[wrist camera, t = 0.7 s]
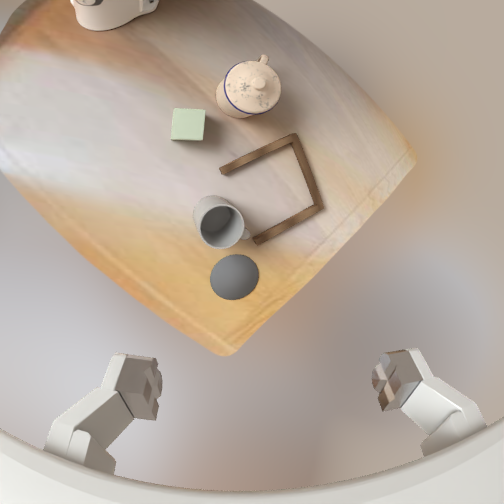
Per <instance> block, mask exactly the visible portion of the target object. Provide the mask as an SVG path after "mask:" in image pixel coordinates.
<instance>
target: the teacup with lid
mask: <svg viewBox="0 0 504 504" xmlns="http://www.w3.org/2000/svg"><path fill="white" fill-rule="evenodd" d="M268 60H269V57H268V56H266V55H261V56H260V57H259V58H258V59H257V61H244V62H241V63H238V64H236V65H235V66H233V67H232V68H231V69H230V70H229V72H228V73H227V75H226V77H225V78H224V79H223V80H222V81H221V82H220V84H219V85H218V87H217V90H216V101H217V104H218V106H219V107H220V109H221V110H222V111H223V112H224V113H226V114H227V115H229V116H231V117H235V118H246V117H249V116H252V115H256V114H262V113H265V112H267V111H269V110H271V109H272V108H273V107H274V106H275V105H276V104H277V102H278V100H279V98H280V95H281V83H280V80H279V77H278V76H277V74H276V73H275V71H274V70H273V69H272V68H270V67H269V66H268V65H267V63H268Z"/></svg>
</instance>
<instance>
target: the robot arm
mask: <svg viewBox="0 0 504 504" xmlns="http://www.w3.org/2000/svg"><path fill="white" fill-rule="evenodd" d="M70 1H71V4H72V5H73V6H74V7H75V11H76V18H77V20H78V22H79V23H80V24H81V25H82V26H83V27H85V28H87V29H90V30H95V31H103V30H109V29H113V28H116V27H119V26H121V25H123V24H125V23H127V22H129V21H131V20H132V19H134V18H135V17H137V16H139V15H143V14H147V13H150V12H153V11H154V10H155V9H156V8H157V5H158V2H159V0H70ZM151 1H153V3H150V2H151ZM379 361H380V363H379V364H378V365H377V366H375V368H374V370H373V372H372V384H373V387H374V389H375V390H376V391H377V392H379V396H378V400H379V403H380V406H381V409H382V411H388V410H393V409H398V408H401V410H402V411H403V412H404V413H405V414H406V415H407V416H409V417H410V418H411V419H412V420H413V421H414V422H415V423H416V424H417V425H418V426H419V427H420V428H421V429H422V430H423V431H424V432H426V433H427V434H428V435H429V437H428V438H426V439H425V440H424V441H423V442H422V443H421V449H422V452H423V455H424V457H423V458H420V459H418V460H415V461H412V462H409V463H406V464H404V465H401V466H397V467H395V468H392V469H388V470H385V471H381V472H378V473H374V474H370V475H367V476H362V477H358V478H354V479H349V480H344V481H339V482H335V483H329V484H323V485H316V486H310V487H301V488H292V489H281V490H265V491H218V490H201V489H190V488H181V487H172V486H166V485H159V484H154V483H148V482H143V481H138V480H133V479H129V478H125V477H120V476H116V475H114V471H115V465H116V461H115V459H114V458H113V457H112V456H111V455H110V454H109V453H108V452H107V451H106V450H105V449H106V448H107V447H108V446H109V445H110V444H111V443H112V442H113V441H114V440H115V439H116V438H117V437H118V436H119V435H120V434H121V433H122V431H123V430H124V429H125V428H126V427H127V426H128V425H129V424H130V423H131V422H132V421H133V420H134V418H139V419H146V420H156V418H157V412H158V407H159V405H158V402H157V400H156V399H157V398H158V397H160V396H161V391H162V375H161V373H160V371H159V370H158V369H157V366H158V363H157V360H156V358H150V357H142V356H135V355H129V354H122V353H115V354H114V355H113V356H112V359H111V361H110V364H109V367H108V369H107V372H106V374H105V377H104V380H103V382H102V385H101V388H98V387H97V388H95V389H94V390H93V391H92V392H90V393H89V394H88V395H87V396H85V397H84V398H82V399H81V400H80V401H79V402H77V403H76V404H75V405H73V406H72V407H71V408H69V409H68V410H67V411H65V412H64V413H63V414H62V415H60V416H59V417H58V418H56V419H55V420H54V421H53V424H52V427H51V429H50V432H49V435H48V438H47V441H46V444H45V446H44V449H43V450H41V449H39V448H37V447H35V446H33V445H31V444H28V443H27V442H24V441H22V440H21V439H19V438H17V437H15V436H13V435H11V434H9V433H7V432H6V431H4V430H2V429H0V504H504V417H502V418H501V419H499V420H498V421H496V422H494V423H493V424H491V425H489V426H488V427H487V425H486V423H485V421H484V419H483V417H482V415H481V413H480V411H479V409H478V407H477V405H476V403H475V402H473V401H472V400H470V399H469V398H467V397H466V396H464V395H463V394H461V393H460V392H458V391H457V390H456V389H454V388H453V387H451V386H449V385H448V384H447V383H445V382H443V381H442V380H441V379H439V378H438V377H434V376H433V375H432V373H431V371H430V369H429V367H428V365H427V363H426V362H425V360H424V358H423V356H422V354H421V353H420V351H419V349H417V348H411V349H406V350H399V351H393V352H386V353H383V354H382V355H381V356H380V358H379Z"/></svg>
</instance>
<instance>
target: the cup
mask: <svg viewBox="0 0 504 504" xmlns="http://www.w3.org/2000/svg"><path fill="white" fill-rule="evenodd" d="M193 219H194V223H195V225H196V228H197V230H198V232H199V234H200V236H201V238H202V240H203V241H204V242H205V243H206V244H207V245H208V246H210V247H212V248H215V249H225V248H229V247H231V246H232V245H234V244H235V243H236V242H238V240H239V239H243V240H247V239H248V238H250V232H249V231H248V230H247V229H246V228H245V227H244V219H243V217H242V215H241V213H240V212H239V211H238V210H237V209H236V208H235V207H234V206H233V205H231V204H230V203H229V202H228V201H226V200H225V199H223V198H222V197H219V196H207V197H205V198H203V199H201V200H200V201H199V202H198V203H197V205H196V206H195V209H194V212H193Z"/></svg>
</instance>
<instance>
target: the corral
mask: <svg viewBox="0 0 504 504" xmlns="http://www.w3.org/2000/svg"><path fill="white" fill-rule="evenodd" d="M288 143H291V145H292V147H293V150H294V152H295V155H296V157H297V160H298V162H299V165H300V167H301V170H302V173H303V175H304V178H305V180H306V183H307V186H308V188H309V191H310V194H311V197H312V199H313V202H314V205H312V206H310V207H308V208H306V209H305V210H303V211H301V212H299V213H297V214H295V215H294V216H292V217H290V218H288V219H286V220H284V221H283V222H281V223H279V224H277V225H275V226H274V227H272V228H270V229H268V230H266V231H264V232H263V233H261V234H259V235H257V236H255V237H254V238H253V239H254V242H255V243H256V244H257V245H259V244H261V243H263V242H265V241H266V240H268V239H270V238H272V237H274V236H275V235H277V234H279V233H281V232H283V231H284V230H286V229H288V228H290V227H292V226H293V225H295V224H297V223H299V222H301V221H302V220H304V219H306V218H308V217H310V216H311V215H313V214H315V213H317V212H318V211H320V210H322V209H324V206H323V203H322V200H321V197H320V194H319V191H318V189H317V186H316V183H315V180H314V178H313V175H312V172H311V169H310V167H309V164H308V162H307V159H306V156H305V154H304V151H303V149H302V146H301V144H300V141H299V139H298V136H297V134H296V133H293V134H291V135H288V136H286V137H284V138H281V139H279V140H277V141H275V142H272V143H270V144H268V145H266V146H263V147H261V148H259V149H257V150H255V151H253V152H251V153H248V154H246V155H244V156H242V157H240V158H238V159H236V160H234V161H232V162H230V163H228V164H226V165H224V166H222V167H220V168H219V169H220V171H221V174H223V175H224V174H226V173H228V172H230V171H231V170H233V169H235V168H237V167H239V166H242V165H244V164H246V163H248V162H250V161H252V160H254V159H256V158H258V157H260V156H262V155H264V154H267V153H269V152H271V151H273V150H275V149H277V148H280V147H282V146H284V145H286V144H288Z"/></svg>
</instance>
